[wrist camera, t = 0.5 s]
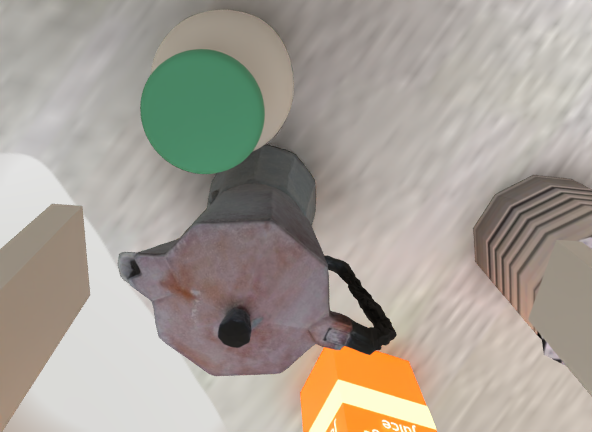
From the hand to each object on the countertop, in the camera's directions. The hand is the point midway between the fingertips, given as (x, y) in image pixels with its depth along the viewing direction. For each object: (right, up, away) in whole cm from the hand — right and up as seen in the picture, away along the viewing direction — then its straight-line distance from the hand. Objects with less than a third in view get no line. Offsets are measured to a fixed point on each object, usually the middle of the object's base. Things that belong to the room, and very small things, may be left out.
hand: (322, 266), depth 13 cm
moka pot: (-3, +3, +27) cm, 27 cm away
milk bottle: (-5, +13, +23) cm, 26 cm away
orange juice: (+5, -15, +35) cm, 38 cm away
